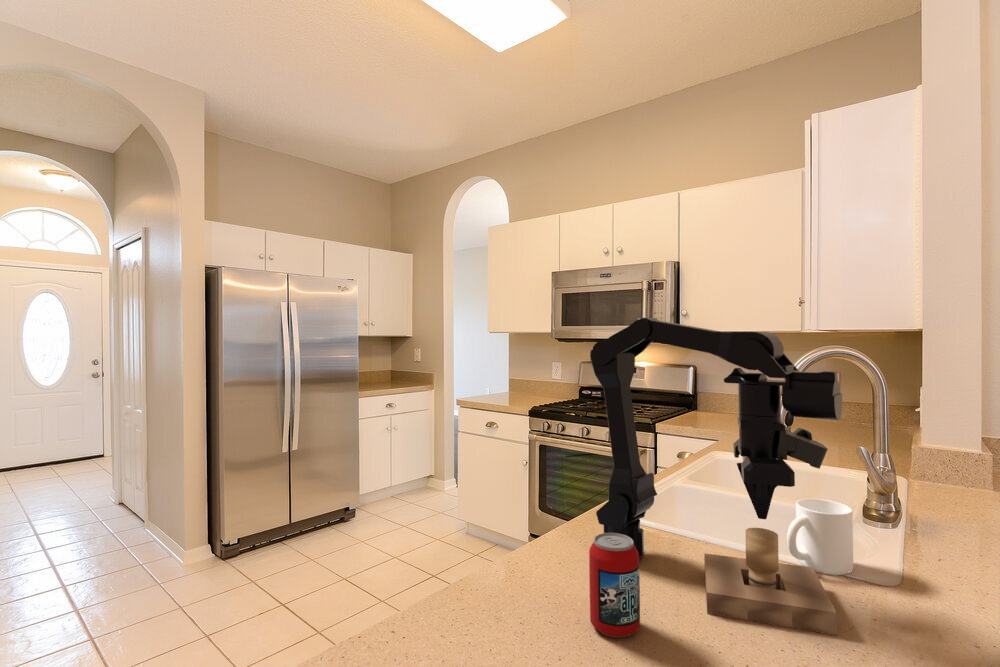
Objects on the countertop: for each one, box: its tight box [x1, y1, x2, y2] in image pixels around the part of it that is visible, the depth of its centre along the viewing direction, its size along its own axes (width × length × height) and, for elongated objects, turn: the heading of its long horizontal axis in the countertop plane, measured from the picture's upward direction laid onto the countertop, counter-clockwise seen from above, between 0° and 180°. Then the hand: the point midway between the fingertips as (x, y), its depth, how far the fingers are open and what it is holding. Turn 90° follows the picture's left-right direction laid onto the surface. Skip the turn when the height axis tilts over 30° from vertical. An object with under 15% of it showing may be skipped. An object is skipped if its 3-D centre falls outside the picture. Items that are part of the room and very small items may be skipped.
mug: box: [786, 498, 854, 576], centre depth 87 cm, size 12×8×10 cm
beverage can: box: [588, 532, 641, 639], centre depth 69 cm, size 7×7×12 cm
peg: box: [745, 527, 780, 589], centre depth 76 cm, size 4×4×10 cm
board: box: [703, 553, 838, 636], centre depth 76 cm, size 16×14×3 cm
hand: (761, 516), depth 76 cm, fingers closed
